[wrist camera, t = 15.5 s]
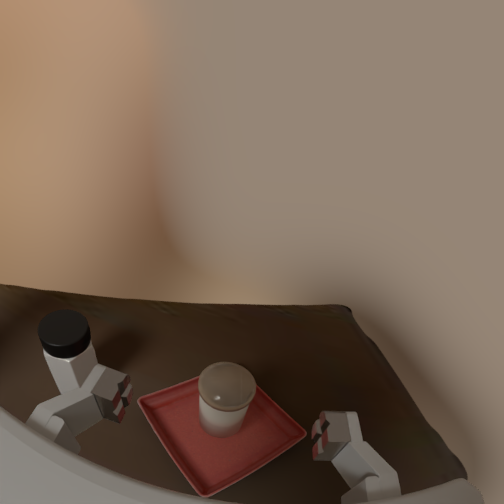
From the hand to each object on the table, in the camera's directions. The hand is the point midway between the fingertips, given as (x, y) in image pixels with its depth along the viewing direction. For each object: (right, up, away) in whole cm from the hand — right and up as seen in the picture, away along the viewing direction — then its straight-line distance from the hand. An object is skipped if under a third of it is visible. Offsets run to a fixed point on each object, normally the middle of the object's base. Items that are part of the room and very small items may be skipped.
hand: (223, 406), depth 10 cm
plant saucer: (-4, -20, +25) cm, 32 cm away
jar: (-27, -15, +26) cm, 40 cm away
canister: (-3, -17, +23) cm, 29 cm away
